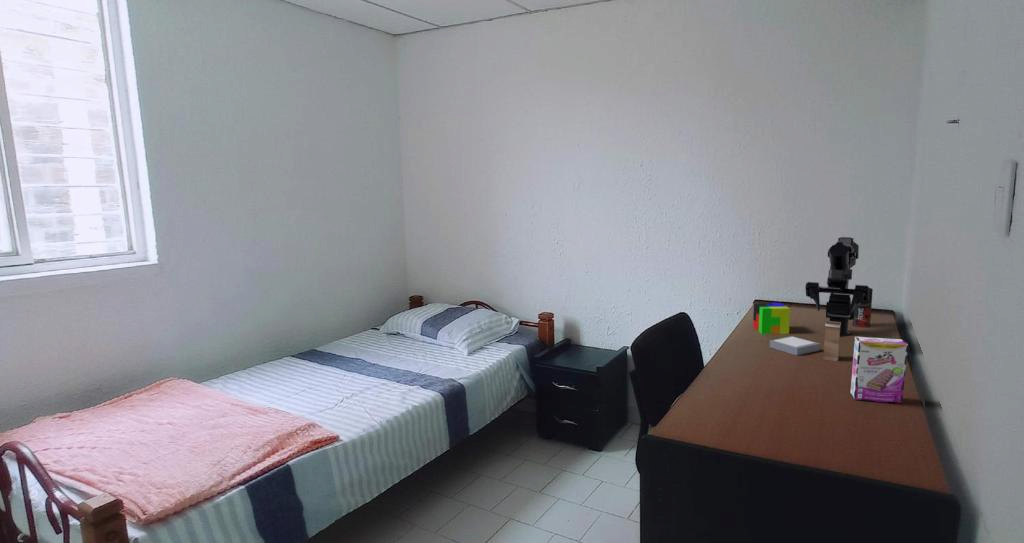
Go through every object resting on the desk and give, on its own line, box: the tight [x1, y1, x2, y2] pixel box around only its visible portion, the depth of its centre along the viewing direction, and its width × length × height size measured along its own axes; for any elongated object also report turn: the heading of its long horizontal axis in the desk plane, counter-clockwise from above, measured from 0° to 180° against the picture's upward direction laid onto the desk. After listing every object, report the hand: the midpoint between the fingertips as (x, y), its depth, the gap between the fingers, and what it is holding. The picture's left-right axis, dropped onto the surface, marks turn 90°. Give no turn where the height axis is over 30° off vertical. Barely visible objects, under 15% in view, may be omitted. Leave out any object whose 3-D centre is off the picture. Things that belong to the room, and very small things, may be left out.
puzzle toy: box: [752, 302, 791, 335], centre depth 215 cm, size 10×10×10 cm
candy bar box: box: [850, 336, 909, 403], centre depth 145 cm, size 11×5×16 cm, turn 71°
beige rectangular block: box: [823, 320, 841, 362], centre depth 179 cm, size 4×4×12 cm
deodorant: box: [852, 287, 873, 329], centre depth 217 cm, size 6×6×15 cm
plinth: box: [769, 335, 821, 356], centre depth 191 cm, size 11×11×3 cm
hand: (834, 311), depth 185 cm, fingers open, 9 cm apart
